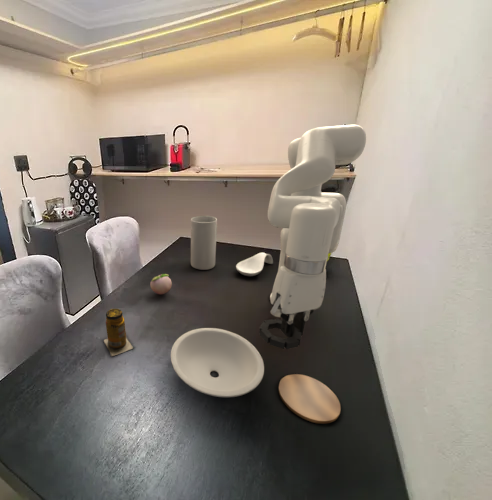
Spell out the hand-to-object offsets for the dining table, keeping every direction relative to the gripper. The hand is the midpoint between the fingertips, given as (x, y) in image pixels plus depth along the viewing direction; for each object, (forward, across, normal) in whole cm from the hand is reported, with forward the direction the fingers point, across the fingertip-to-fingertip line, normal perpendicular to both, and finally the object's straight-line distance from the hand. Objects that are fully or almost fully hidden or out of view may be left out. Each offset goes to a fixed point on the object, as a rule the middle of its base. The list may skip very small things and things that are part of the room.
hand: (291, 332), depth 62 cm
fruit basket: (+17, -59, -51) cm, 80 cm away
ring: (0, +3, 0) cm, 3 cm away
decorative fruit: (+17, +17, -53) cm, 58 cm away
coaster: (+17, -4, +5) cm, 18 cm away
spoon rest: (+17, -33, -61) cm, 71 cm away
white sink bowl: (+17, +15, -8) cm, 24 cm away
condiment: (+17, +40, -27) cm, 51 cm away
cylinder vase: (+17, -11, -74) cm, 77 cm away
